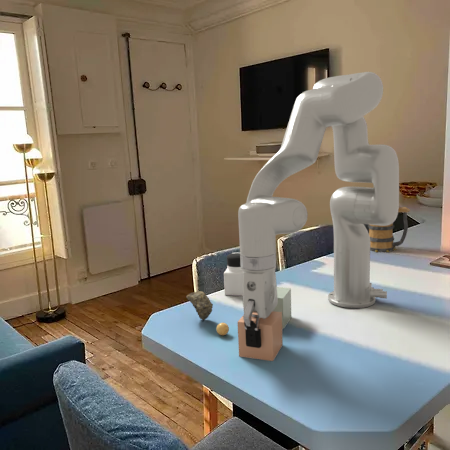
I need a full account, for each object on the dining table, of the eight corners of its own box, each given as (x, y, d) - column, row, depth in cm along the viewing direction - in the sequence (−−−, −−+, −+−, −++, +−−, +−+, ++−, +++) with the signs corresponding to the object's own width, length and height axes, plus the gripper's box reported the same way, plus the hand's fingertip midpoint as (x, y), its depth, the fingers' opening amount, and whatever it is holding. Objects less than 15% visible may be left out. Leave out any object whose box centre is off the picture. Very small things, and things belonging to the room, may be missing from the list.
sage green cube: (291, 317, 115) (290, 288, 113) (283, 329, 108) (282, 298, 106) (263, 314, 118) (262, 285, 116) (254, 325, 111) (252, 295, 109)
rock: (183, 291, 112) (198, 281, 113) (188, 301, 119) (202, 291, 120) (198, 313, 109) (213, 303, 110) (202, 322, 116) (216, 312, 117)
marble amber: (229, 335, 107) (231, 323, 107) (224, 338, 104) (226, 326, 104) (218, 331, 108) (220, 319, 108) (213, 335, 106) (215, 322, 105)
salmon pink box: (282, 345, 99) (281, 312, 98) (273, 361, 93) (272, 325, 91) (250, 341, 102) (249, 308, 101) (239, 356, 95) (237, 321, 94)
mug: (369, 245, 184) (369, 197, 180) (413, 249, 174) (414, 199, 171) (358, 252, 174) (359, 202, 170) (404, 257, 164) (406, 204, 160)
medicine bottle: (248, 296, 132) (246, 257, 129) (224, 295, 133) (222, 257, 131) (251, 288, 139) (250, 251, 136) (229, 287, 140) (227, 250, 138)
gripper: (262, 274, 84) (265, 357, 88) (286, 251, 100) (287, 323, 103) (226, 272, 87) (230, 352, 90) (254, 250, 103) (257, 319, 106)
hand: (260, 336), depth 97 cm, fingers open, 9 cm apart
